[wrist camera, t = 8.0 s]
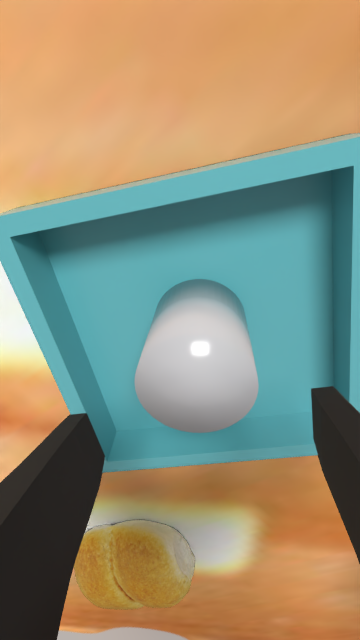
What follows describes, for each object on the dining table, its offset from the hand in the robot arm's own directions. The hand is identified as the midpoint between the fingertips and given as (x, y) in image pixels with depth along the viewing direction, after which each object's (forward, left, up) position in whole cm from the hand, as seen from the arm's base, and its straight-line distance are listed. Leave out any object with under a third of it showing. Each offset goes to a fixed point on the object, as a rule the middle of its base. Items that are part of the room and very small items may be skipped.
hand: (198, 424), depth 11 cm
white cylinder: (0, 0, -7) cm, 7 cm away
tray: (0, 0, -7) cm, 7 cm away
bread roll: (-19, +9, -8) cm, 22 cm away
